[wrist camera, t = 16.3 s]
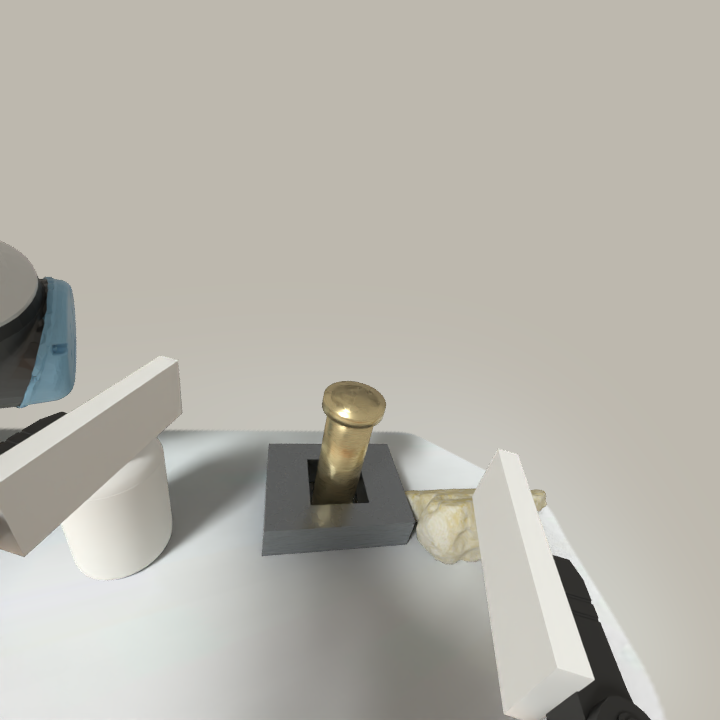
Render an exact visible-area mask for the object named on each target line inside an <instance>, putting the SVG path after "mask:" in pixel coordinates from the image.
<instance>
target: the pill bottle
mask: <svg viewBox="0 0 720 720" xmlns="http://www.w3.org/2000/svg"><path fill="white" fill-rule="evenodd" d="M172 524H173V521H172V513H171V505H170V497H169V490H168V482H167V474H166V467H165V459H164V452H163V447H162V444H161V443H160V441H159V440H158V438H157V437H156V438H154V439H153V440H152V441H151V442H150V443H149V444H148V445H147V446H146V447H145V448H143V449H142V450H141V451H140V452H139V453H138V454H137V455H136V456H135V457H134V458H133V459H131V460H130V461H129V462H128V463H127V464H126V465H125V466H124V467H123V468H122V469H120V470H119V471H118V472H117V473H116V474H115V475H114V476H113V477H112V478H111V479H109V480H108V481H107V482H106V483H105V484H104V485H103V486H102V487H101V488H100V489H98V490H97V491H96V492H95V493H94V494H93V495H92V496H91V497H90V498H89V499H88V500H86V501H85V502H84V503H83V504H82V505H81V506H80V507H79V508H78V509H77V510H75V511H74V512H73V513H72V514H71V515H70V516H69V517H68V518H67V519H66V520H64V521H63V522H62V523H61V526H62V529H63V531H64V534H65V537H66V540H67V542H68V545H69V548H70V550H71V553H72V556H73V558H74V561H75V563H76V565H77V567H78V568H79V570H80V571H81V572H82V573H83V574H84V575H86V576H88V577H90V578H92V579H96V580H103V581H108V580H116V579H121V578H124V577H127V576H130V575H132V574H134V573H136V572H138V571H140V570H142V569H143V568H145V567H146V566H148V565H149V564H150V563H152V562H153V561H154V560H155V559H156V558H157V557H158V556H159V555H160V554H161V553H162V551H163V550H164V549H165V547H166V545H167V544H168V542H169V539H170V537H171V533H172Z"/></svg>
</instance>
